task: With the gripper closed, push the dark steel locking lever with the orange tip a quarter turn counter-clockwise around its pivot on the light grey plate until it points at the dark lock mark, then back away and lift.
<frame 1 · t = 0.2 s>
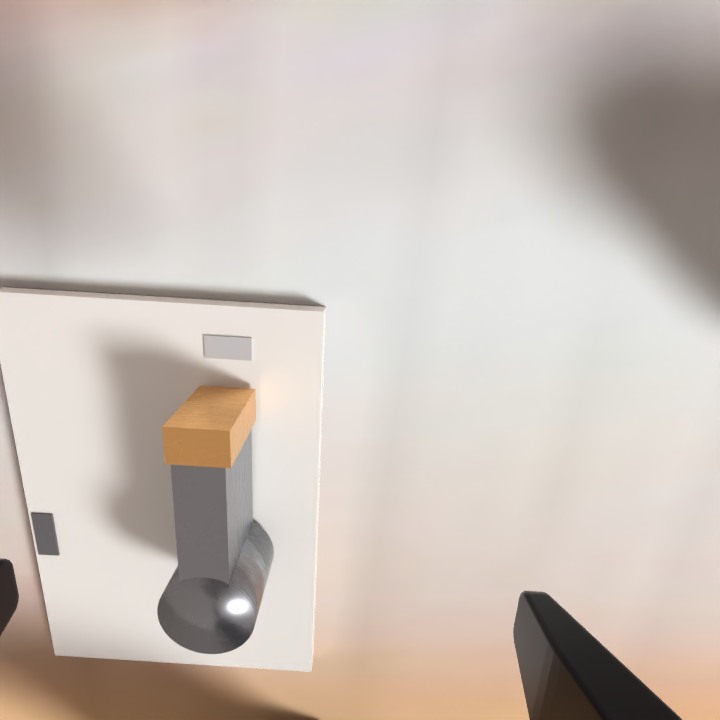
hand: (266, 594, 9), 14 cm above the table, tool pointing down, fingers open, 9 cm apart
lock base: (178, 495, 24), on the table
lock lever: (218, 519, 21), point 3 cm above the table, hinge at 0.0°
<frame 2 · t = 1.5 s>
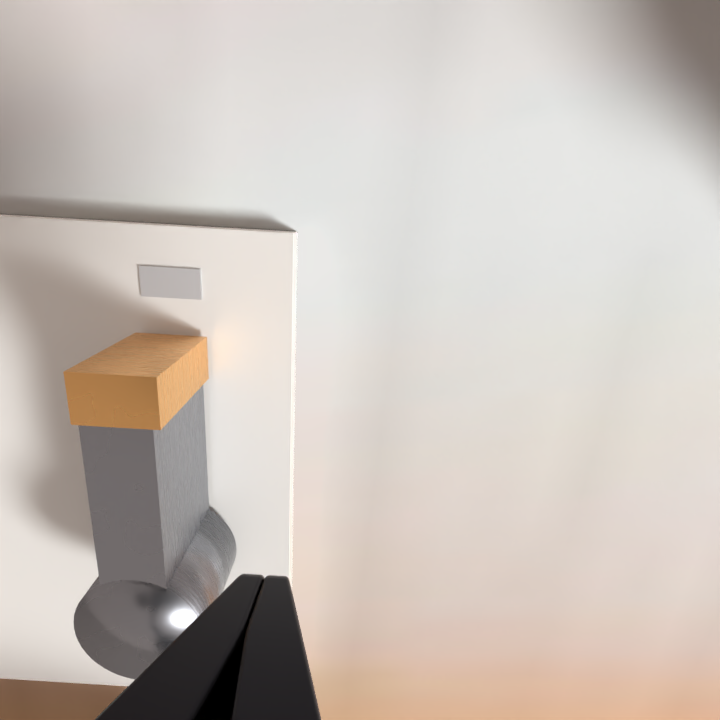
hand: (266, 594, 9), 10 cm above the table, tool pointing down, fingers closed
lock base: (119, 478, 19), on the table
lock lever: (157, 504, 16), point 3 cm above the table, hinge at 0.0°
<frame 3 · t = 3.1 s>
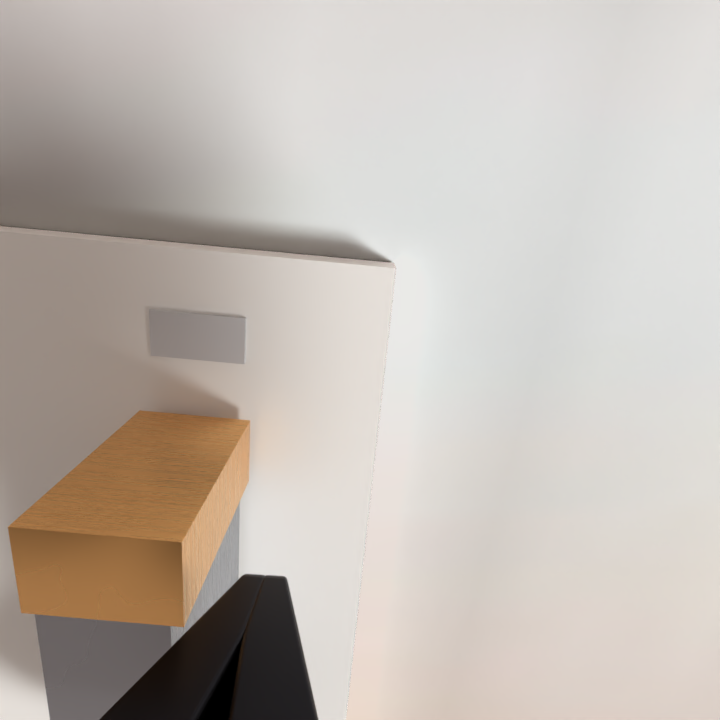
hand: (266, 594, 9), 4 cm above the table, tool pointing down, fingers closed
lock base: (108, 597, 14), on the table
lock lever: (165, 682, 10), point 3 cm above the table, hinge at 0.0°, touching gripper
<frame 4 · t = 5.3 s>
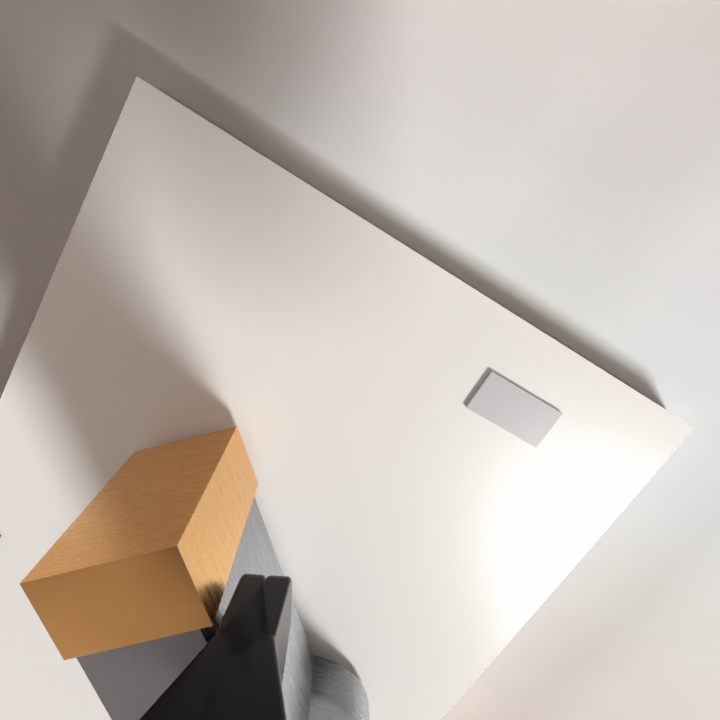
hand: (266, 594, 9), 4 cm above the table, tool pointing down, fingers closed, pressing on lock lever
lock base: (240, 578, 13), on the table
lock lever: (243, 694, 10), point 3 cm above the table, hinge at 45.7°, touching gripper
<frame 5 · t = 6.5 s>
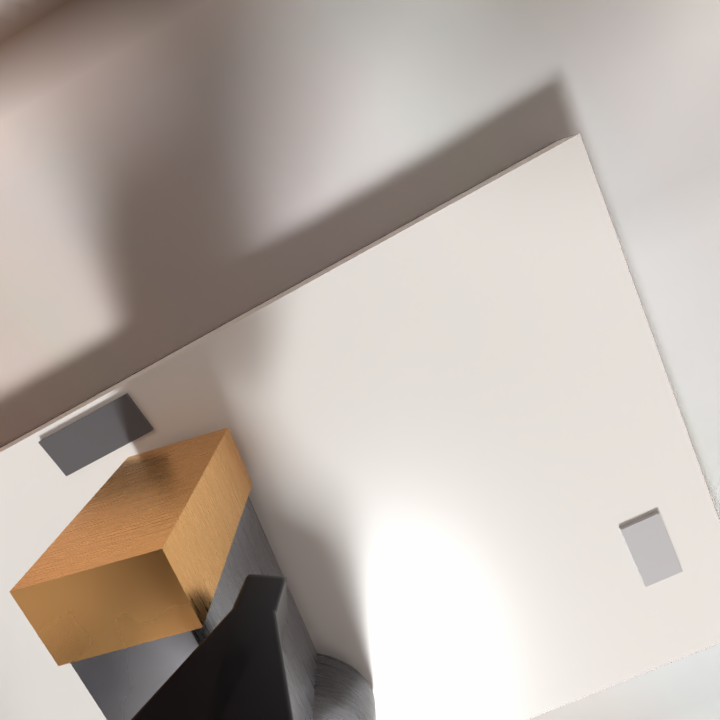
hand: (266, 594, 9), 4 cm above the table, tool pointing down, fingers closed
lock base: (314, 566, 13), on the table
lock lever: (245, 694, 10), point 3 cm above the table, hinge at 78.9°, touching gripper
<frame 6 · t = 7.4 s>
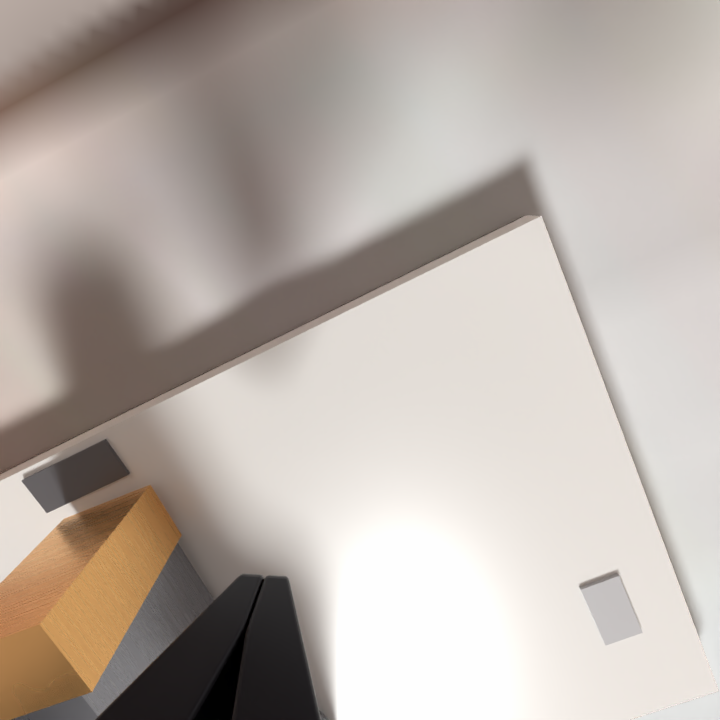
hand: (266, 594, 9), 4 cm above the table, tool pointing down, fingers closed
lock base: (284, 605, 14), on the table
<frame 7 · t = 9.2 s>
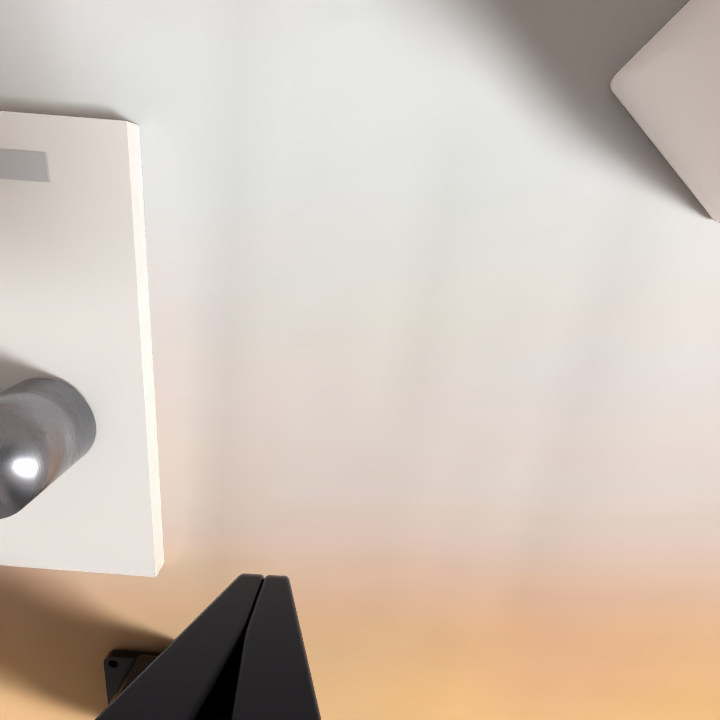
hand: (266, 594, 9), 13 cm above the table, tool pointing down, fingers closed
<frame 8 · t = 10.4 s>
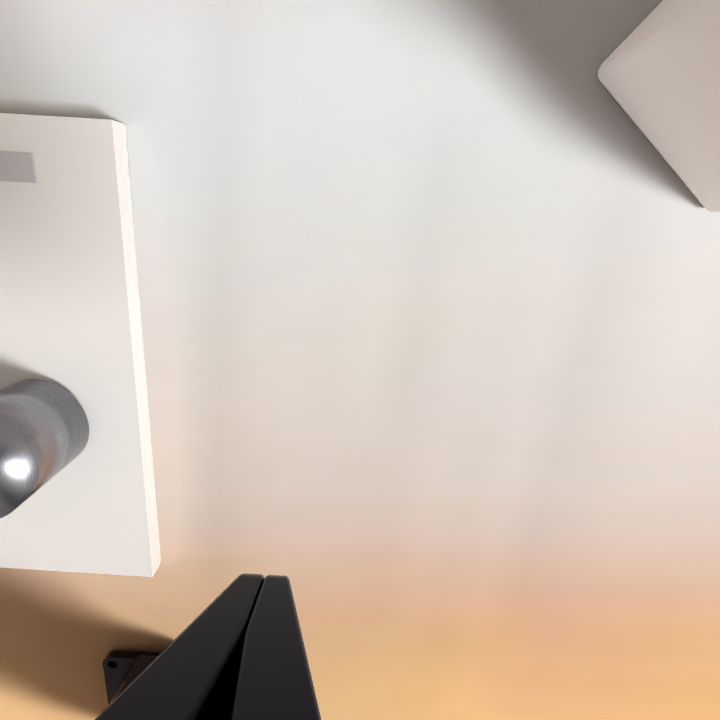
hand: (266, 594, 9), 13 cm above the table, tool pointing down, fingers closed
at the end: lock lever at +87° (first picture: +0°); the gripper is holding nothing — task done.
